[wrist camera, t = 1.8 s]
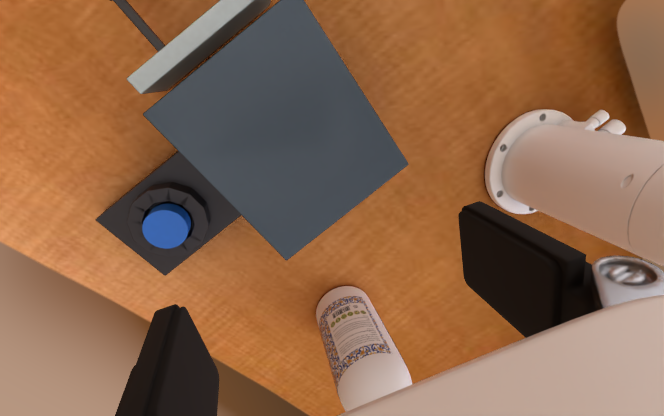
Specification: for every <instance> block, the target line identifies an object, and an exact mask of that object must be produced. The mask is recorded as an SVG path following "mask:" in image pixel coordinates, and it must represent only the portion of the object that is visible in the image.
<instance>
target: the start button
mask: <svg viewBox="0 0 664 416" xmlns="http://www.w3.org/2000/svg"><path fill="white" fill-rule="evenodd" d="M190 227H191V219H190V216H189V214H188V213H187V212H186V211H185V210H184V209H183V208H182V207H180V206H178V205H175V204H170V203H166V204H160V205H158V206H156V207H154V208H153V209H152V210H151V211H150V213H149V214H148V215H147V217H146V218H145V220H144V221H143V225H142V232H143V235H144V237H145V238H146V240H147V241H148V242H149V243H151V244H152V245H154V246H156V247H159V248H164V249H169V248H174V247H177V246H179V245H180V244H182V243H183V242H184V241H185V239H186V238H187V235H188V233H189V230H190Z"/></svg>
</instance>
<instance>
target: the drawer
mask: <svg viewBox="0 0 664 416" xmlns="http://www.w3.org/2000/svg"><path fill="white" fill-rule="evenodd" d="M110 1H112V0H110ZM113 1H114V2H115V3H116V4H117V5H118V6H119V8H120V9H121V10H122V11H123V12H124V13H125V14H126V16H127V17H128V18H129V19H130V20H131V21H132V22H133V23H134V25H135V26H136V27H137V28H138V29H139V30H140V31H141V33H142V34H143V35H144V36H145V37H146V38H147V39H148V41H149V42H150V43H151V44H152V45H153V46H154V47H155V48H156V50H157V51H158V52H157V53H156V54H155V55H154V56H153V57H151V58H150V59H149V60H148V61H147V62H145V63H144V64H143V65H142V66H141V67H139V68H138V69H137V70H136V71H135V72H133V73H132V74H131V75H130V76H129V77H127V80H128V81H129V83H130V84H131V85H132V86H133V87H134V88H135V89H136V90H137V91H138V92H139V93H140V94H145V93H152V92H160V91H167V90H168V89H169V88H171V87H172V86H173V85H174V84H176V83H177V82H178V81H179V80H180V79H182V78H183V77H184V76H185V75H186V74H188V73H189V72H190V71H191V70H192V69H194V68H195V67H196V66H197V65H198V64H200V63H201V62H202V61H203V60H205V59H206V58H207V57H208V56H209V55H211V54H212V53H213V52H214V51H215V50H217V49H218V48H219V47H220V46H221V45H223V44H224V43H225V42H226V41H228V40H229V39H230V38H231V37H232V36H234V35H235V34H236V33H237V32H238V31H240V30H241V29H242V28H243V27H244V26H246V25H247V24H248V23H249V22H250V21H252V20H253V19H254V18H255V17H257V16H258V15H259V14H260V13H261V12H263V11H264V10H265V9H266V8H267V7H269V4H270V1H271V0H220V1H219V2H217V3H216V4H215V5H214V6H213V7H211V8H210V9H209V10H208V11H207V12H205V13H204V14H203V15H202V16H201V17H199V18H198V19H197V20H196V21H195V22H193V23H192V24H191V25H190V26H189V27H187V28H186V29H185V30H184V31H183V32H181V33H180V34H179V35H178V36H177V37H175V38H174V39H173V40H172V41H171V42H169V43H168V44H167V45H166V46H165V45H164V43H163V42H162V41H161V40H160V39H159V38H158V37H157V35H156V34H155V33H154V32H153V31H152V30H151V28H150V27H149V26H148V25H147V24H146V23H145V21H144V20H143V19H142V18H141V17H140V16H139V15H138V13H137V12H136V11H135V10H134V9H133V8H132V6H131V5H130V4H129V3H128V2H127V1H126V0H113Z"/></svg>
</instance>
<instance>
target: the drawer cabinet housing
mask: <svg viewBox="0 0 664 416" xmlns="http://www.w3.org/2000/svg"><path fill="white" fill-rule="evenodd" d="M143 115H144V116H145V117H146V118H147V119H148V120H149V121H150V122H151V123H152V124H153V125H154V126H155V128H156V129H157V130H158V131H159V132H160V133H161V134H162V135H163V136H164V137H165V138H166V139H167V140H168V141H169V142H170V143H171V144H172V145H173V146H174V147H175V148H176V149H177V150H178V151H179V152H180V153H181V154H182V155H183V156H184V157H185V158H186V159H187V160H188V161H189V162H190V163H191V164H192V165H193V166H194V167H195V168H196V169H197V170H198V171H199V172H200V173H201V174H202V175H203V176H204V177H205V178H206V179H207V180H208V181H209V182H210V183H211V184H212V185H213V186H214V187H215V189H216V190H217V191H218V192H219V193H220V194H221V195H222V196H223V197H224V198H225V199H226V200H227V201H228V202H229V203H230V204H231V205H232V206H233V207H234V208H235V209H236V210H237V211H238V212H239V213H240V214H241V215H242V216H243V217H244V218H245V219H246V220H247V221H248V222H249V223H250V224H251V225H252V226H253V227H254V228H255V229H256V230H257V231H258V232H259V233H260V234H261V235H262V236H263V237H264V238H265V239H266V240H267V241H268V242H269V243H270V244H271V245H272V246H273V247H274V248H275V249H276V251H277V252H278V253H279V254H280V255H281V256H282V257H283V258H284V259H285V260H288V259H289V258H291V257H292V256H293V255H294V254H296V253H297V252H298V251H299V250H301V249H302V248H303V247H304V246H306V245H307V244H308V243H310V242H311V241H312V240H313V239H315V238H316V237H317V236H318V235H320V234H321V233H322V232H324V231H325V230H326V229H327V228H329V227H330V226H331V225H332V224H334V223H335V222H336V221H337V220H339V219H340V218H341V217H343V216H344V215H345V214H346V213H348V212H349V211H350V210H351V209H353V208H354V207H355V206H356V205H358V204H359V203H360V202H362V201H363V200H364V199H365V198H367V197H368V196H369V195H370V194H372V193H373V192H374V191H376V190H377V189H378V188H379V187H381V186H382V185H383V184H384V183H386V182H387V181H388V180H389V179H391V178H392V177H393V176H395V175H396V174H397V173H398V172H400V171H401V170H402V169H403V168H405V167H406V166H407V165H408V162H407V161H406V159H405V157H404V156H403V154H402V153H401V151H400V150H399V148H398V147H397V145H396V143H395V142H394V140H393V139H392V137H391V136H390V134H389V133H388V131H387V129H386V128H385V126H384V125H383V123H382V122H381V120H380V118H379V117H378V115H377V114H376V112H375V111H374V109H373V108H372V106H371V104H370V103H369V101H368V100H367V98H366V97H365V95H364V94H363V92H362V90H361V89H360V87H359V86H358V84H357V83H356V81H355V79H354V78H353V76H352V75H351V73H350V72H349V70H348V69H347V67H346V65H345V64H344V62H343V61H342V59H341V58H340V56H339V55H338V53H337V51H336V50H335V48H334V47H333V45H332V44H331V42H330V40H329V39H328V37H327V36H326V34H325V33H324V31H323V30H322V28H321V26H320V25H319V23H318V22H317V20H316V19H315V17H314V16H313V14H312V12H311V11H310V9H309V8H308V6H307V5H306V3H305V1H304V0H280V1H279V2H278V3H276V4H275V5H274V6H273V7H272V8H270V9H269V10H268V11H267V12H266V13H264V14H263V15H262V16H261V17H259V18H258V19H257V20H256V21H255V22H253V23H252V24H251V25H250V26H249V27H247V28H246V29H245V30H244V31H243V32H241V33H240V34H239V35H238V36H236V37H235V38H234V39H233V40H232V41H230V42H229V43H228V44H227V45H226V46H224V47H223V48H222V49H221V50H220V51H218V52H217V53H216V54H215V55H213V56H212V57H211V58H210V59H209V60H207V61H206V62H205V63H204V64H203V65H201V66H200V67H199V68H198V69H197V70H195V71H194V72H193V73H192V74H190V75H189V76H188V77H187V78H186V79H184V80H183V81H182V82H181V83H180V84H178V85H177V86H176V87H175V88H174V89H172V90H171V91H170V92H169V93H168V94H166V95H165V96H164V97H163V98H161V99H160V100H159V101H158V102H157V103H155V104H154V105H153V106H152V107H151V108H149V109H148V110H147V111H146V112H145V113H143Z"/></svg>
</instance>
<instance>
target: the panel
mask: <svg viewBox="0 0 664 416" xmlns="http://www.w3.org/2000/svg"><path fill="white" fill-rule="evenodd" d="M166 203H170V204H175V205H178V206H180V207H182V208H183V209H184V210H185V211H186V212H187V213H188V214H189V216H190V219H191V227H190V230H189V233H188V235H187V238H186V239H185V241H184V242H183V243H182V244H180V245H179V246H177V247H174V248H169V249H164V248H159V247H156V246H154V245H152V244H151V243H149V242H148V241H147V240H146V238H145V237H144V235H143V232H142V225H143V221H144V220H145V218H146V217H147V215H148V214H149V213H150V211H151V210H152V209H153V208H154V207H156V206H158V205H160V204H166ZM239 216H241V214H240V213H239V212H238V211H237V210H236V209H235V208H234V207H233V206H232V205H231V204H230V203H229V202H228V201H227V200H226V199H225V198H224V197H223V196H222V195H221V194H220V193H219V192H218V191H217V190H216V189H215V187H214V186H213V185H212V184H211V183H210V182H209V181H208V180H207V179H206V178H205V177H204V176H203V175H202V174H201V173H200V172H199V171H198V170H197V169H196V168H195V167H194V166H193V165H192V164H191V163H190V162H189V161H188V160H187V159H186V158H185V157H184V156H183V155H182V154H181V153H180V152H179V151H178V152H176V153H175V154H174V155H173V156H172V157H170V158H169V159H168V160H167V161H165V162H164V163H163V164H162V165H161V166H159V167H158V168H157V169H156V170H154V171H153V172H152V173H151V174H150V175H148V176H147V177H146V178H145V179H143V180H142V181H141V182H140V183H138V184H137V185H136V186H135V187H134V188H132V189H131V190H130V191H129V192H127V193H126V194H125V195H124V196H123V197H121V198H120V199H119V200H118V201H116V202H115V203H114V204H113V205H112V206H110V207H109V208H108V209H107V210H105V211H104V212H103V213H102V214H101V215H100V216H99V217H98V218H97V219H96V221H97V222H99V223H100V224H101V225H102V226H104V227H105V228H106V229H107V230H109V231H110V232H111V233H112V234H114V235H115V236H116V237H117V238H119V239H120V240H121V241H122V242H124V243H125V244H126V245H127V246H129V247H130V248H131V249H132V250H134V251H135V252H136V253H137V254H139V255H140V256H141V257H142V258H144V259H145V260H146V261H147V262H149V263H150V264H151V265H152V266H154V267H155V268H156V269H157V270H158V271H160V272H161V273H162V274H163V275H167V274H168V273H169V272H171V271H172V270H173V269H174V268H176V267H177V266H178V265H179V264H181V263H182V262H183V261H184V260H186V259H187V258H188V257H189V256H191V255H192V254H193V253H194V252H196V251H197V250H198V249H199V248H201V247H202V246H203V245H204V244H206V243H207V242H208V241H209V240H211V239H212V238H213V237H214V236H216V235H217V234H218V233H219V232H221V231H222V230H223V229H224V228H226V227H227V226H228V225H229V224H231V223H232V222H233V221H234V220H236V219H237V218H238V217H239Z"/></svg>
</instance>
